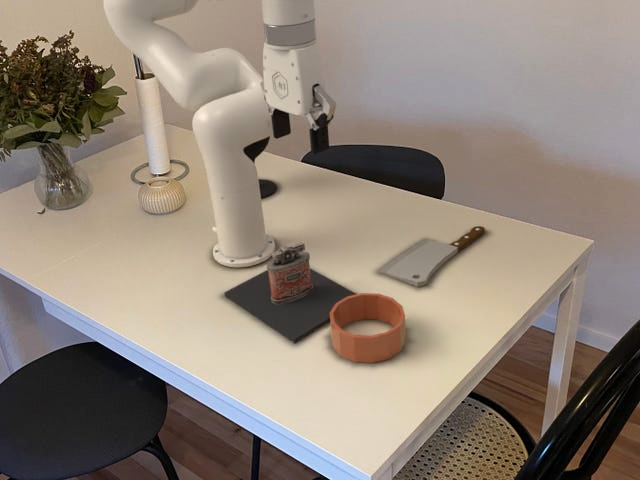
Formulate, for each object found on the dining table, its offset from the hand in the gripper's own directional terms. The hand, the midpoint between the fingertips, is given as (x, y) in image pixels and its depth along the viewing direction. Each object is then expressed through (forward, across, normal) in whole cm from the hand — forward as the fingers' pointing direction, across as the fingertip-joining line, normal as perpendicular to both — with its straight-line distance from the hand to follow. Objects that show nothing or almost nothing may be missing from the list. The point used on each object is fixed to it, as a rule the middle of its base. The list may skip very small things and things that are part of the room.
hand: (300, 143), depth 106 cm
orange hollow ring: (+29, +17, -3) cm, 33 cm away
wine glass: (+29, -43, +17) cm, 54 cm away
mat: (+29, -1, -4) cm, 29 cm away
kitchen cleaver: (+29, +7, +25) cm, 39 cm away
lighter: (+28, -1, -4) cm, 28 cm away
